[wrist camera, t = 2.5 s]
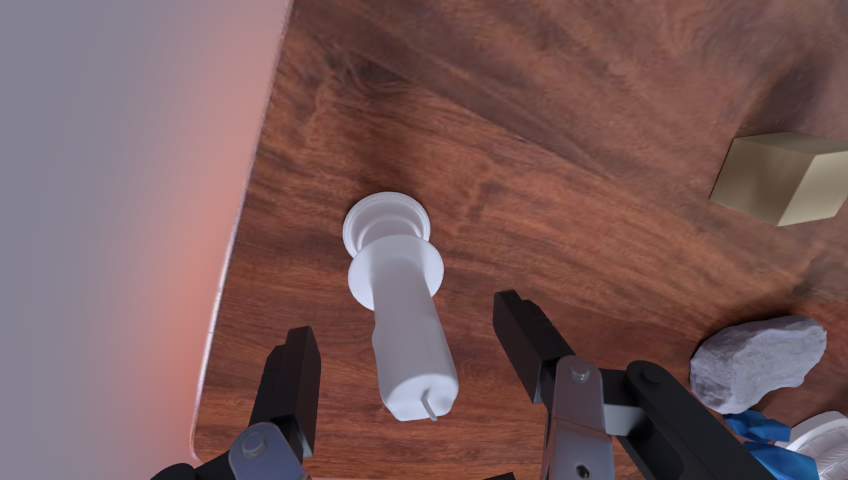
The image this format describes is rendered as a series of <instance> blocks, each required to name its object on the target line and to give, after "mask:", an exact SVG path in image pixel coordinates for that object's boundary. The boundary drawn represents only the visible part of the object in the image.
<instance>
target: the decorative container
mask: <svg viewBox="0 0 848 480" xmlns="http://www.w3.org/2000/svg"><path fill="white" fill-rule="evenodd" d="M774 445H776V446H779V447H782V448H785V449H788V450H791V451H794V452H797V453H800V454H803V455H806V456H809V457H812V458H813V459H814V460H815V462H816V466H817V471H818V475H819V479H820V480H848V418H846V417H845V416H843V415H842V414H841V413H839V412H837V411H830V412H825V413H822V414H819V415H816V416H814V417H812V418H809V419H807V420H805V421H804V422H802V423H800V424H798V425H797V426H795V427H793V428H792V429H791V434H790V440H789V442H781V441H776V443H775V444H774Z"/></svg>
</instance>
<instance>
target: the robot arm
mask: <svg viewBox="0 0 848 480" xmlns="http://www.w3.org/2000/svg"><path fill="white" fill-rule="evenodd" d="M493 326H494V330H495V333H496V335H497V337H498V339H499V341H500V343H501V344H502V346H503V348H504V350H505V352H506V354H507V356H508V358H509V359H510V361H511V363H512V365H513V367H514V369H515V371H516V373H517V374H518V376H519V378H520V380H521V382H522V384H523V386H524V388H525V389H526V391H527V393H528V395H529V397H530V399H531V401H532V403H533V405H534V404H538V403H542V402H543V403H544V404H545V406H546V408H547V414H546V424H545V435H544V446H543V457H542V467H541V474H540V480H615V471H614V458H613V446H612V439H611V436H610V435H615V436H616V438H617V439H618V441H619V442H620V443H621V445H622V446H623V448H624V449H625V450H626V452H627V453H628V455H629V456H630V458H631V459H632V460H633V462H634V463H635V465H636V466H637V468H638V469H639V470H640V472H641V473H642V475H643V476H644V477H645V479H646V480H778V479H777V478H776V477H775V476H774V475H773V474H772V473H771V472H770V471H769V470H768V469H767V468H766V467H765V466H764V465H763V464H762V463H761V462H760V461H758V460H757V459H756V458H755V457H754V456H753V455H752V454H751V453H750V452H749V451H748V450H747V449H746V448H745V447H744V446H743V445H742V444H741V443H740V442H739V441H738V440H737V439H736V438H735V437H734V436H733V435H732V434H731V433H730V432H729V431H728V430H727V429H726V428H725V427H724V426H723V425H722V424H721V423H720V422H719V421H718V420H717V419H716V418H715V417H714V416H713V415H712V414H711V413H710V412H709V411H708V410H707V409H706V408H705V407H704V406H703V405H702V404H701V403H699V402H698V401H697V400H696V399H695V398H694V397H693V396H692V395H691V394H690V393H689V392H688V391H687V390H686V389H685V388H684V387H683V386H682V385H681V384H680V383H679V382H678V381H677V380H676V379H675V378H674V377H673V376H672V375H671V374H670V373H669V372H668V371H667V370H665V369H664V368H662V367H661V366H659V365H657V364H654V363H652V362H648V361H643V360H638V361H633V362H631V363H630V364H629V365H628V367H627V369H626V371H623V370H611V369H601V368H597V366H596V365H595V364H594V363H592V362H591V361H589V360H588V359H586V358H583V357H580V356H577V355H576V354H575V353H574V352H573V350H572V349H571V348H570V346H569V345H568V344H567V343H566V341H565V340H564V339H563V337H562V336H561V335H560V333H559V332H558V331H557V329H556V328H555V327H554V326H552V323H551V322H550V320H549V319H548V318H546V315H545V314H544V312H543V311H542V310H541V309H540V307H539V306H537V305H536V304H534V303H533V302H531V301H530V300H521V298H520V297H519V295H518V294H517V293H516V291H515V290H507V291H501V292H496V293H495V295H494V309H493ZM320 375H321V358H320V353H319V350H318V347H317V343H316V340H315V337H314V334H313V331H312V328H311V326H305V327H299V328H294V329H290V330H289V331H288V335H287V340H286V344H284V345H278V346H276V347H275V348H274V349H273V351H272V352H271V353H270V355H269V356H268V358H267V360H266V364H265V368H264V373H263V375H262V378H261V384H260V386H259V389H258V393H257V397H256V400H255V404H254V407H253V411H252V415H251V418H250V422H249V425H248V428H247V429H246V430H245V431H243V432H242V433H241V434H240V435H239V436H238V437H237V439H236V440H235V441H234V443H233V444H232V446H231V449H230V450H228V451H227V452H225V453H224V454H222V455H220V456H218V457H216V458H215V459H213V460H211V461H209V462H207V463H205V464H203V465H201V466H199V467H197V468H195V469H194V468H193V467H192V466H191V465H189V464H186V463H179V464H175V465H172V466H170V467H167V468H165V469H164V470H162V471H160V472H159V473H158V474H156V475H155V476H154V477H153V478H151V480H312V479H311V477H309V476H308V474H307V473H306V471H305V470H304V468H303V467H302V462H303V458H305V457H310V456H313V451H314V440H315V429H316V419H317V408H318V397H319V386H320ZM484 480H515V477H514V475H513V472H510V473H506V474H502V475H499V476H495V477H491V478H487V479H484Z"/></svg>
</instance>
